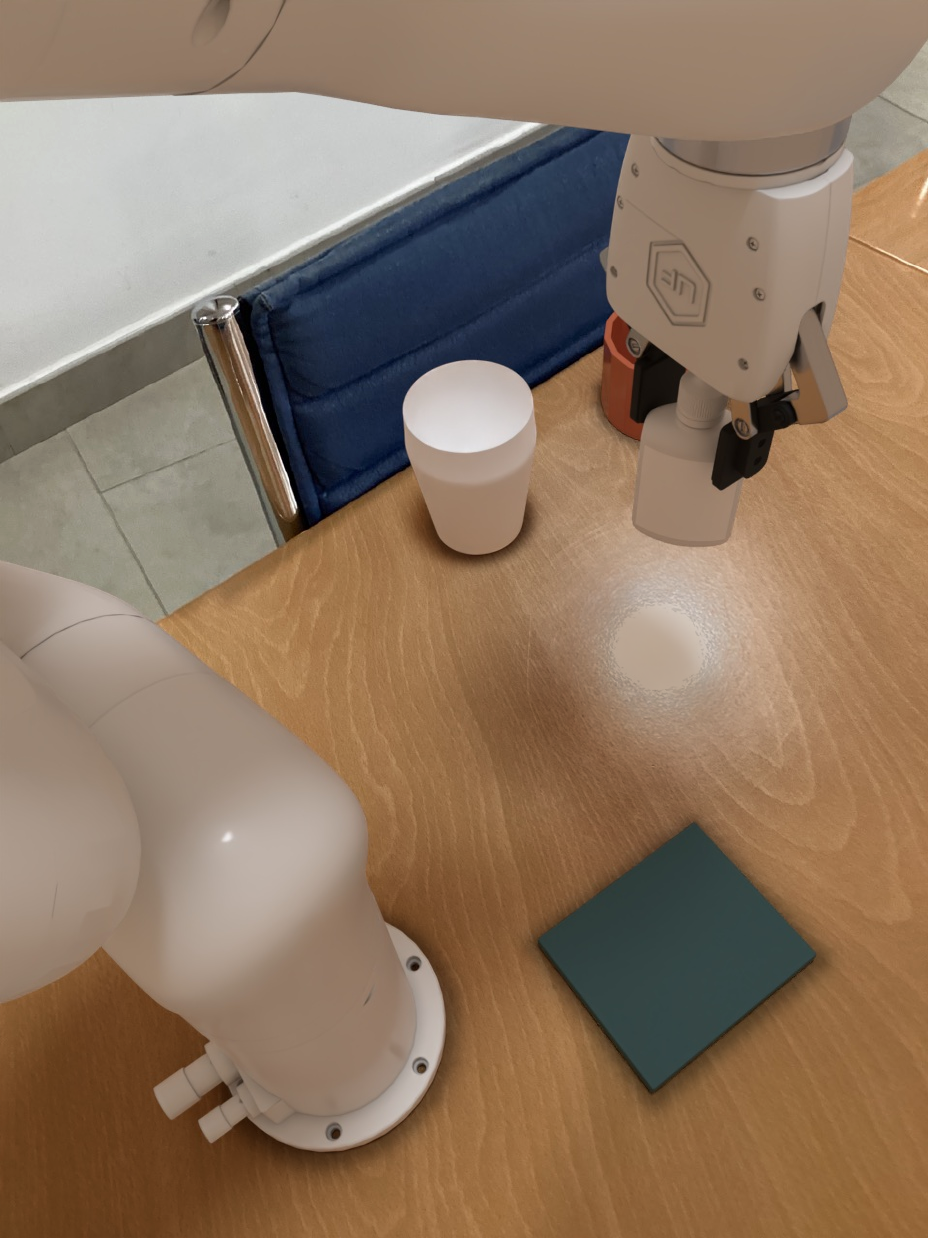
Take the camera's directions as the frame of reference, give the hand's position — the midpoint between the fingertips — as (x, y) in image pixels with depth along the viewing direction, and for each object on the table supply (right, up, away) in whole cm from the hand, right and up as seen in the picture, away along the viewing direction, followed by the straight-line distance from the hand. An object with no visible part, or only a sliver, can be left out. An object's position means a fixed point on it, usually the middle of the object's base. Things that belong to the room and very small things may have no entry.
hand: (695, 439), depth 55 cm
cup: (-11, -2, +25) cm, 28 cm away
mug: (+6, +9, +31) cm, 33 cm away
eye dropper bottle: (0, -4, +6) cm, 7 cm away
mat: (0, -28, +6) cm, 29 cm away
